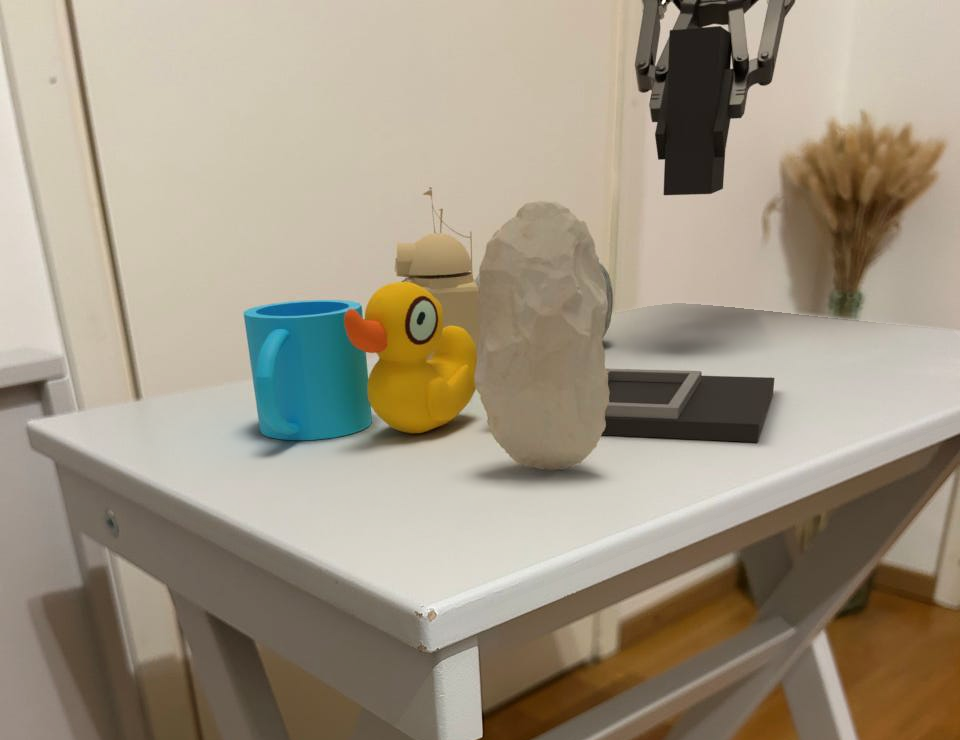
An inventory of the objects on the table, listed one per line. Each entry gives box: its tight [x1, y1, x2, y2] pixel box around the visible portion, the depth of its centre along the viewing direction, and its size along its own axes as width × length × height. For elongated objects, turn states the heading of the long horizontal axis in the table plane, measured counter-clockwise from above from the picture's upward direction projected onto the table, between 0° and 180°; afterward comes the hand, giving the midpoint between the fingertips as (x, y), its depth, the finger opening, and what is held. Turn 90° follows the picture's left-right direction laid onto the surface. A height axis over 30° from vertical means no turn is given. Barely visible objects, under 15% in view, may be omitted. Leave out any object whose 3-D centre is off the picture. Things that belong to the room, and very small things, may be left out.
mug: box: [242, 299, 373, 441], centre depth 69 cm, size 12×8×8 cm
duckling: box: [344, 281, 477, 434], centre depth 68 cm, size 11×5×10 cm, turn 140°
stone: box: [474, 200, 610, 471], centre depth 57 cm, size 8×5×15 cm
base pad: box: [601, 368, 775, 443], centre depth 72 cm, size 18×14×2 cm
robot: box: [394, 186, 481, 361], centre depth 82 cm, size 10×8×15 cm
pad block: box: [663, 25, 732, 196], centre depth 84 cm, size 4×8×12 cm, turn 161°
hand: (689, 145), depth 82 cm, fingers closed on pad block, 4 cm apart
